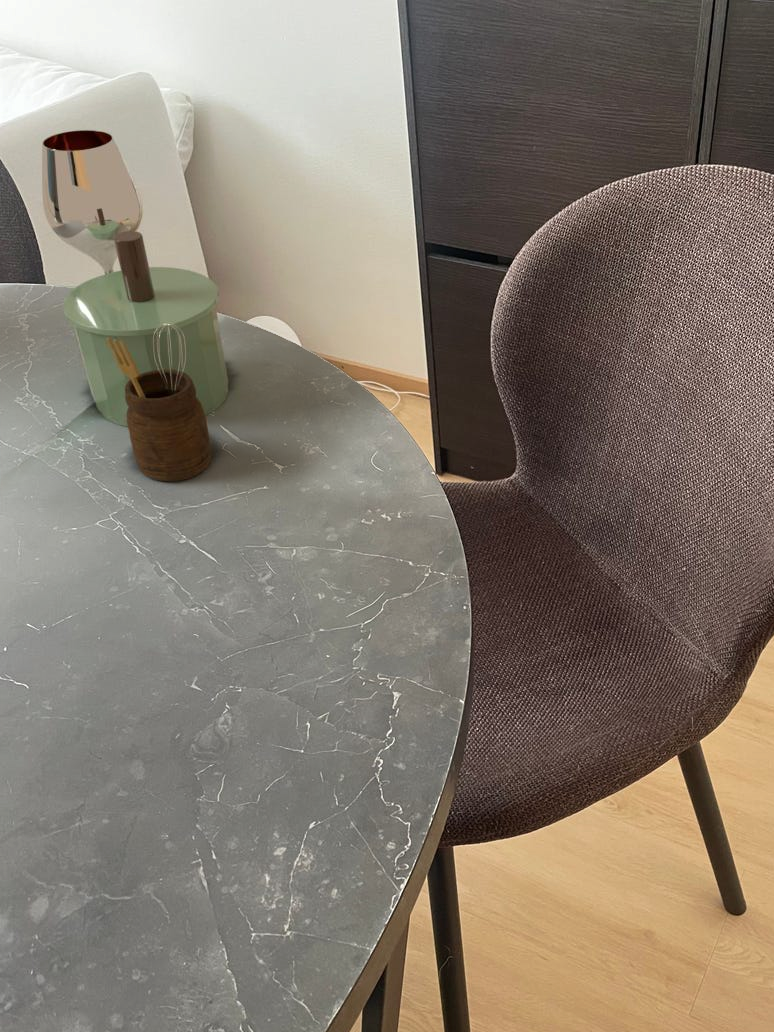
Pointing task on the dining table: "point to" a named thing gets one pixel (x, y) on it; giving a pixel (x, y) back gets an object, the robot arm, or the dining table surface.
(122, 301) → the pot lid
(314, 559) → the dining table surface
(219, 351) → the pot
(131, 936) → the dining table surface
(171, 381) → the utensil holder
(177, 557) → the dining table surface
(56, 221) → the wineglass
